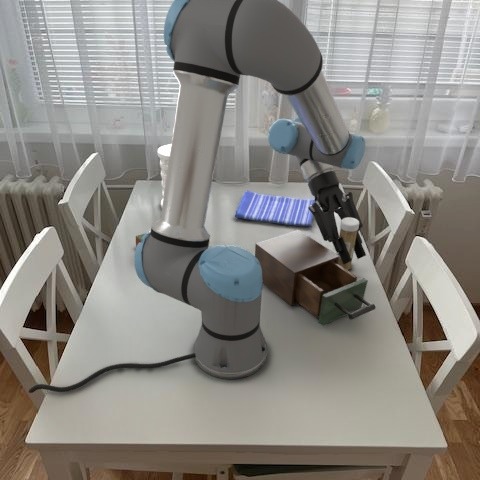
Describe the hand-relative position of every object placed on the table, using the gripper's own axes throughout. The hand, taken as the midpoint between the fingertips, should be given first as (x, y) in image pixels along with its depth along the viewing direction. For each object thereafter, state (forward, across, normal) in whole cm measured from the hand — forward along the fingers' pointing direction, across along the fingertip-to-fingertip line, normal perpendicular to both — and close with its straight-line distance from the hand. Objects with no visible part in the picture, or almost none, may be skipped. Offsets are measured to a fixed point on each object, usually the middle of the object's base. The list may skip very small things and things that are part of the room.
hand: (354, 259), depth 126 cm
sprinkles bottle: (0, 0, +6) cm, 6 cm away
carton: (-23, -35, +29) cm, 51 cm away
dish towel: (-24, +4, +30) cm, 39 cm away
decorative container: (-39, -20, +44) cm, 62 cm away
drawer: (+9, -16, -4) cm, 19 cm away
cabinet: (-1, -16, +6) cm, 17 cm away
